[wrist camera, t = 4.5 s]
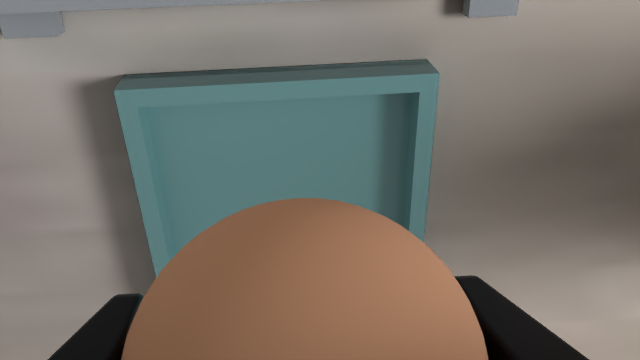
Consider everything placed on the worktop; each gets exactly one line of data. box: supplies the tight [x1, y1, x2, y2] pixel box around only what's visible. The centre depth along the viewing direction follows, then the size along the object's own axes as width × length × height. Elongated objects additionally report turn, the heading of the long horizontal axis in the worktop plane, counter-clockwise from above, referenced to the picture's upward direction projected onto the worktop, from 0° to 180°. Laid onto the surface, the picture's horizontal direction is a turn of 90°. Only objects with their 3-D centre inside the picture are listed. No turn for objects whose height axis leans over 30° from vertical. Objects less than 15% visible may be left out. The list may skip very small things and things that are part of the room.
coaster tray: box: [114, 59, 440, 278], centre depth 20 cm, size 10×10×2 cm
